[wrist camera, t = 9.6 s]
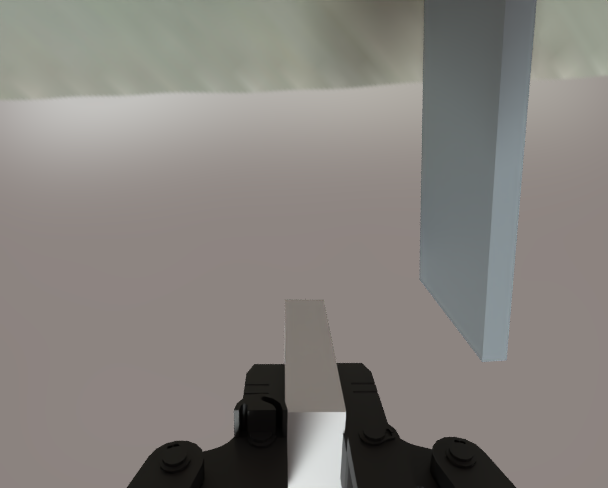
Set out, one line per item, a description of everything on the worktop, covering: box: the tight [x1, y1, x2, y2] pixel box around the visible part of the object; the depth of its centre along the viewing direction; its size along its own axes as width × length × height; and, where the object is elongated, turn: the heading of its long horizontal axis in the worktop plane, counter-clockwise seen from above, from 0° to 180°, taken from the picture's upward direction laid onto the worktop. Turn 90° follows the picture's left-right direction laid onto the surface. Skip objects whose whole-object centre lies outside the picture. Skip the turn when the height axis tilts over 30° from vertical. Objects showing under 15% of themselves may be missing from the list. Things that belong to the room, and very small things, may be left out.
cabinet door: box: [420, 0, 537, 362], centre depth 24 cm, size 20×3×11 cm, turn 3°
